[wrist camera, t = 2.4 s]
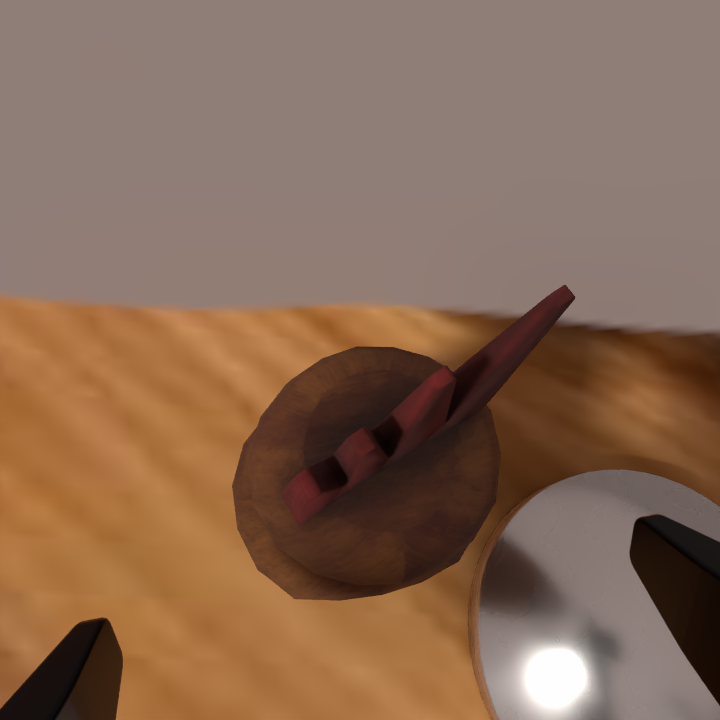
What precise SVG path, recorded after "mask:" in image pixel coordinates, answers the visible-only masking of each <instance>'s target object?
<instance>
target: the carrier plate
mask: <svg viewBox="0 0 720 720" xmlns="http://www.w3.org/2000/svg"><path fill="white" fill-rule="evenodd" d="M654 514H660V515H664V516H666V517H668V518H670V519H672V520H674V521H677V522H679V523H681V524H683V525H685V526H687V527H689V528H691V529H693V530H696V531H698V532H700V533H702V534H704V535H706V536H708V537H710V538H713V539H715V540H717V541H719V542H720V507H719V506H718V505H716V504H715V503H714V502H712V501H711V500H709V499H708V498H706V497H705V496H703V495H701V494H700V493H698V492H696V491H694V490H692V489H690V488H688V487H686V486H684V485H682V484H680V483H677V482H675V481H672V480H670V479H667V478H664V477H661V476H657V475H653V474H649V473H646V472H639V471H632V470H599V471H592V472H586V473H583V474H579V475H576V476H572V477H569V478H566V479H564V480H561V481H558V482H556V483H553V484H551V485H548V486H546V487H544V488H542V489H540V490H538V491H536V492H534V493H533V494H531V495H530V496H528V497H527V498H525V499H523V500H522V501H521V502H520V503H519V504H517V505H516V506H515V507H514V508H513V509H512V510H511V511H510V512H508V514H507V515H506V516H505V517H504V518H503V520H502V521H501V522H500V523H499V524H498V526H497V527H496V528H495V530H494V532H493V533H492V535H491V536H490V538H489V540H488V541H487V543H486V545H485V547H484V549H483V552H482V554H481V556H480V558H479V561H478V564H477V567H476V571H475V574H474V577H473V581H472V586H471V592H470V599H469V610H468V634H469V647H470V654H471V659H472V664H473V669H474V674H475V677H476V680H477V684H478V687H479V690H480V693H481V697H482V699H483V701H484V704H485V706H486V708H487V711H488V713H489V715H490V717H491V720H720V706H719V704H718V703H717V701H716V700H715V699H714V697H713V696H712V694H711V693H710V691H709V690H708V689H707V687H706V686H705V684H704V683H703V681H702V680H701V678H700V677H699V676H698V674H697V673H696V671H695V670H694V668H693V667H692V666H691V664H690V663H689V661H688V660H687V658H686V657H685V655H684V654H683V652H682V651H681V649H680V648H679V646H678V644H677V643H676V641H675V639H674V638H673V636H672V634H671V633H670V631H669V629H668V627H667V626H666V624H665V622H664V620H663V619H662V617H661V615H660V613H659V612H658V610H657V608H656V606H655V605H654V603H653V601H652V599H651V598H650V596H649V594H648V592H647V591H646V589H645V587H644V585H643V584H642V582H641V580H640V578H639V577H638V575H637V573H636V571H635V570H634V568H633V566H632V563H631V560H630V555H629V550H630V545H631V539H632V533H633V527H634V523H635V521H636V520H637V518H639V517H644V516H649V515H654Z"/></svg>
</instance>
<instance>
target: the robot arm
mask: <svg viewBox="0 0 720 720" xmlns="http://www.w3.org/2000/svg"><path fill="white" fill-rule="evenodd" d="M629 555H630V560H631V563H632V566H633V568H634V570H635V571H636V573H637V575H638V577H639V578H640V580H641V582H642V584H643V585H644V587H645V589H646V591H647V592H648V594H649V596H650V598H651V599H652V601H653V603H654V605H655V606H656V608H657V610H658V612H659V613H660V615H661V617H662V619H663V620H664V622H665V624H666V626H667V627H668V629H669V631H670V633H671V634H672V636H673V638H674V639H675V641H676V643H677V644H678V646H679V648H680V649H681V651H682V652H683V654H684V655H685V657H686V658H687V660H688V661H689V663H690V664H691V666H692V667H693V668H694V670H695V671H696V673H697V674H698V676H699V677H700V678H701V680H702V681H703V683H704V684H705V686H706V687H707V689H708V690H709V691H710V693H711V694H712V696H713V697H714V699H715V700H716V701H717V703H718V704H719V706H720V542H719V541H717V540H715V539H713V538H710V537H708V536H706V535H704V534H702V533H700V532H698V531H696V530H693V529H691V528H689V527H687V526H685V525H683V524H681V523H679V522H677V521H674V520H672V519H670V518H668V517H666V516H664V515H660V514H654V515H649V516H644V517H639V518H637V520H636V521H635V523H634V527H633V533H632V539H631V545H630V550H629ZM122 668H123V656H122V651H121V648H120V646H119V643H118V641H117V638H116V636H115V633H114V631H113V628H112V626H111V623H110V622H109V620H108V619H107V618H97V619H92V620H86V621H82V622H80V623H78V624H77V625H76V626H74V627H73V629H72V630H71V631H70V632H69V633H68V634H67V635H66V636H65V637H64V639H63V640H62V641H61V642H60V643H59V644H58V645H57V646H56V648H55V649H54V650H53V651H52V652H51V653H50V654H49V655H48V656H47V658H46V659H45V660H44V661H43V662H42V663H41V664H40V665H39V666H38V668H37V669H36V670H35V671H34V672H33V673H32V674H31V675H30V677H29V678H28V679H27V680H26V681H25V682H24V683H23V684H22V685H21V687H20V688H19V689H18V690H17V691H16V692H15V693H14V694H13V695H12V697H11V698H10V699H9V700H8V701H7V702H6V703H5V704H4V705H3V707H2V708H1V709H0V720H116V713H117V706H118V698H119V691H120V683H121V676H122Z"/></svg>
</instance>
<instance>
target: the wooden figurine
mask: <svg viewBox="0 0 720 720" xmlns="http://www.w3.org/2000/svg"><path fill="white" fill-rule="evenodd" d="M574 299H575V296H574V295H573V294H572V292H571V291H570V290H569V289H568V287H567V286H566V285H564V286H562V287H561V288H559V289H557V290H556V291H554V292H553V293H551V294H550V295H549V296H547V297H546V298H545V299H543V300H542V301H541V302H540V303H538V304H537V305H536V306H535V307H533V308H532V309H531V310H530V311H529V312H527V313H526V314H525V315H524V316H522V317H521V318H520V319H519V320H517V321H516V322H515V323H514V324H512V325H511V326H510V327H509V328H507V329H506V330H505V331H504V332H503V333H501V334H500V335H499V336H498V337H496V338H495V339H494V340H493V341H491V342H490V343H489V344H488V345H486V346H485V347H484V348H483V349H482V350H480V351H479V352H478V353H477V354H475V355H474V356H473V357H472V358H470V359H469V360H468V361H467V362H465V363H464V364H463V365H462V366H461V367H459V368H458V369H457V370H456V371H454V372H452V371H451V370H450V369H449V368H448V367H447V366H445V367H444V366H443V365H441V364H439V363H438V362H436V361H435V360H433V359H431V358H430V357H427V356H423V355H420V354H416V353H412V352H409V351H405V350H402V349H398V348H394V347H354V348H351V349H349V350H346V351H343V352H340V353H337V354H334V355H331V356H328V357H325V358H323V359H321V360H320V361H318V362H317V363H315V364H314V365H312V366H311V367H309V368H308V369H306V370H305V371H303V372H302V373H300V374H299V375H298V376H296V377H295V378H293V379H292V380H291V381H289V382H288V383H287V384H286V385H285V386H284V388H283V389H282V390H281V392H280V393H279V394H278V395H277V397H276V398H275V399H274V400H273V402H272V403H271V404H270V406H269V407H268V408H267V409H266V411H265V412H264V413H263V415H262V416H261V417H260V420H259V423H258V426H257V428H256V429H255V430H254V432H253V433H252V434H251V435H250V437H249V438H248V439H247V440H246V442H245V443H244V444H243V448H242V452H241V455H240V459H239V463H238V467H237V470H236V474H235V478H234V481H233V485H232V488H233V496H234V504H235V512H236V521H237V529H238V531H239V533H240V535H241V537H242V539H243V541H244V543H245V545H246V547H247V549H248V551H249V553H250V555H251V557H252V559H253V561H254V563H255V565H256V567H257V569H258V571H260V572H261V573H263V574H264V575H265V576H267V577H268V578H269V579H270V580H272V581H273V582H274V583H275V584H277V585H278V586H279V587H280V588H282V589H283V590H284V591H285V592H287V593H288V594H289V595H290V596H292V597H293V598H294V599H310V600H347V599H354V598H362V597H369V596H377V595H383V594H386V593H389V592H392V591H396V590H399V589H402V588H405V587H408V586H411V585H415V584H418V583H421V582H423V581H425V580H427V579H428V578H430V577H432V576H434V575H435V574H437V573H439V572H441V571H442V570H444V569H446V568H448V567H449V566H451V565H453V564H455V563H457V562H458V561H459V560H460V558H461V557H462V555H463V553H464V551H465V550H466V548H467V546H468V545H469V543H470V542H472V541H473V540H474V538H475V536H476V535H477V533H478V531H479V529H480V528H481V526H482V524H483V522H484V521H485V519H486V517H487V515H488V514H489V512H490V510H491V509H492V507H493V505H494V503H495V500H496V491H497V483H498V474H499V465H500V448H499V444H498V440H497V435H496V431H495V427H494V422H493V418H492V414H491V410H490V409H489V408H488V406H487V405H486V404H487V403H488V402H489V401H490V399H491V398H492V397H493V396H494V395H495V394H496V393H497V391H498V390H499V389H500V388H501V387H502V386H503V384H504V383H505V382H506V381H507V380H508V378H509V377H510V376H511V375H512V374H513V372H514V371H515V370H516V369H517V368H518V366H519V365H520V364H521V363H522V362H523V360H524V359H525V358H526V357H527V356H528V354H529V353H530V352H531V351H532V350H533V348H534V347H535V346H536V345H537V344H538V342H539V341H540V340H541V339H542V338H543V337H544V335H545V334H546V333H547V332H548V331H549V329H550V328H551V327H552V326H553V325H554V323H555V322H556V321H557V320H558V319H559V317H560V316H561V315H562V314H563V312H564V311H565V310H566V309H567V308H568V307H569V305H570V304H571V303H572V302H573V300H574Z"/></svg>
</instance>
